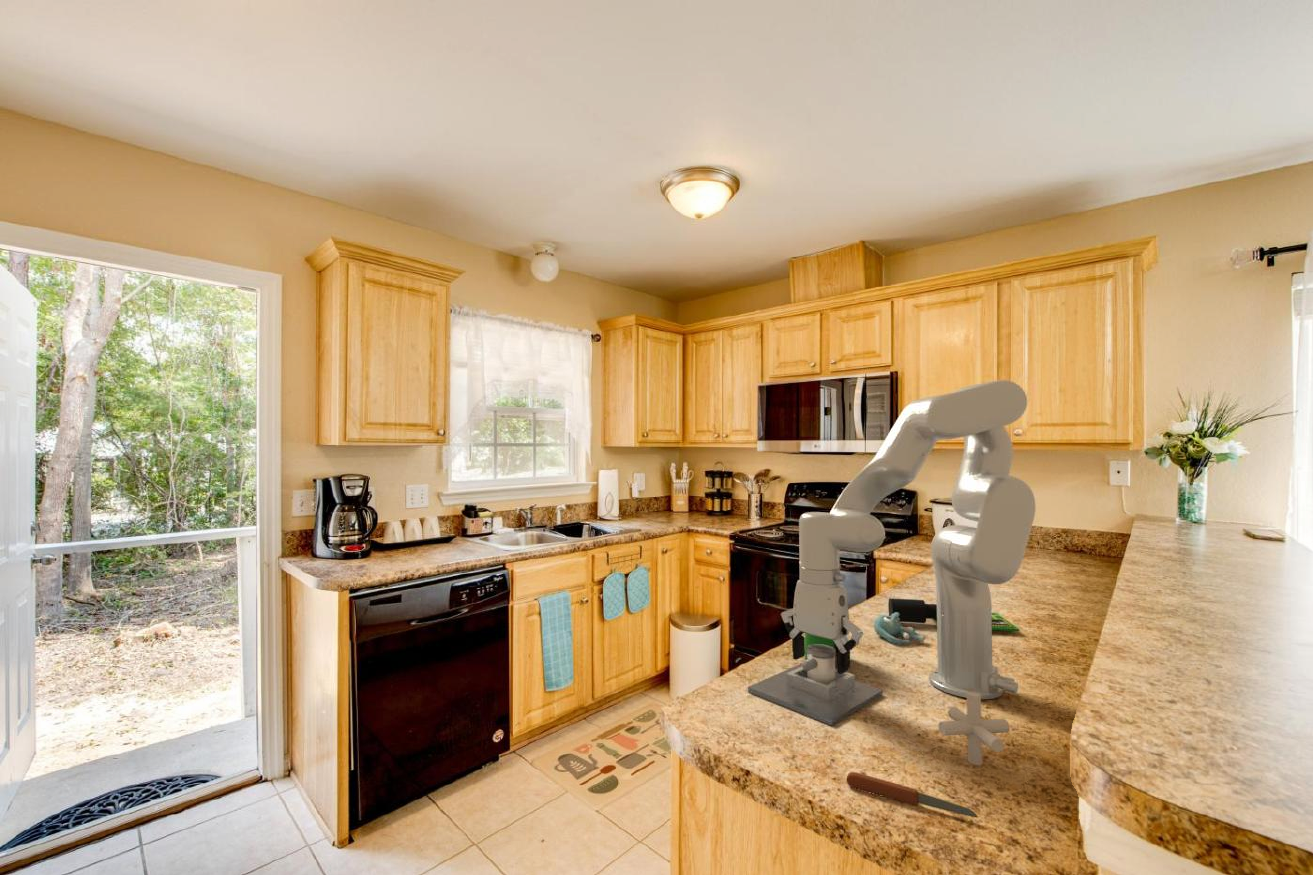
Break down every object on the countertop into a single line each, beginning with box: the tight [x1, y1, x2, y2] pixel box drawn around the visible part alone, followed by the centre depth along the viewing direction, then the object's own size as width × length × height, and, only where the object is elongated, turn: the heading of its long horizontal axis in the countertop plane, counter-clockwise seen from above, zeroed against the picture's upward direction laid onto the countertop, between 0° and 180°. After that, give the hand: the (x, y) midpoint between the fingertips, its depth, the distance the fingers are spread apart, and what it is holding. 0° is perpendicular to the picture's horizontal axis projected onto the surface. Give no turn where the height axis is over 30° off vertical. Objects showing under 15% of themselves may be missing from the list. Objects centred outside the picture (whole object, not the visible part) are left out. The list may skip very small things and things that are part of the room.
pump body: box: [801, 644, 836, 685], centre depth 106 cm, size 5×8×7 cm
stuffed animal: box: [873, 612, 926, 646], centre depth 137 cm, size 11×7×12 cm
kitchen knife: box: [846, 771, 979, 819], centre depth 73 cm, size 16×1×2 cm, turn 59°
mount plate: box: [747, 663, 883, 727], centre depth 106 cm, size 18×18×3 cm
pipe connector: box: [938, 691, 1011, 766], centre depth 82 cm, size 10×10×10 cm
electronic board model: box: [888, 597, 1020, 632], centre depth 150 cm, size 30×7×15 cm
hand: (820, 664), depth 107 cm, fingers open, 9 cm apart
